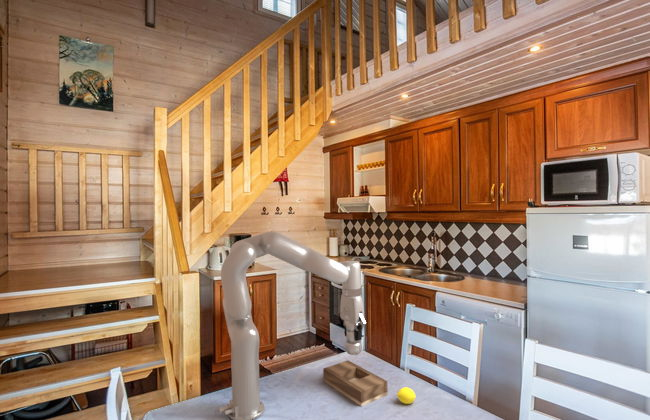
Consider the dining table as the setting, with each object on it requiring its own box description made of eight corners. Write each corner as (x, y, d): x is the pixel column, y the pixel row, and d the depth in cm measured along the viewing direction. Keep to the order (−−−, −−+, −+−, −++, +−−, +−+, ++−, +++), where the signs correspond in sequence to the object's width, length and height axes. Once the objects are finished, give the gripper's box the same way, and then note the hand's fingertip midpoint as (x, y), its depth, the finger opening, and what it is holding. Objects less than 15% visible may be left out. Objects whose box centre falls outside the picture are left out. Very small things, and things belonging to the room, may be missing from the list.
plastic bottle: (361, 350, 143) (360, 300, 144) (362, 357, 137) (360, 305, 137) (346, 350, 144) (344, 301, 144) (345, 357, 137) (343, 305, 137)
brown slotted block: (361, 406, 127) (361, 391, 127) (323, 380, 146) (323, 368, 146) (387, 394, 134) (387, 381, 134) (348, 372, 154) (348, 360, 154)
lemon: (412, 399, 131) (414, 385, 131) (417, 407, 126) (418, 392, 126) (394, 398, 131) (395, 383, 131) (397, 406, 125) (399, 391, 125)
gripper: (331, 290, 145) (332, 334, 145) (358, 297, 131) (360, 346, 131) (345, 287, 150) (347, 330, 150) (373, 294, 135) (375, 341, 135)
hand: (353, 337), depth 140 cm, fingers closed on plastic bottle, 5 cm apart
